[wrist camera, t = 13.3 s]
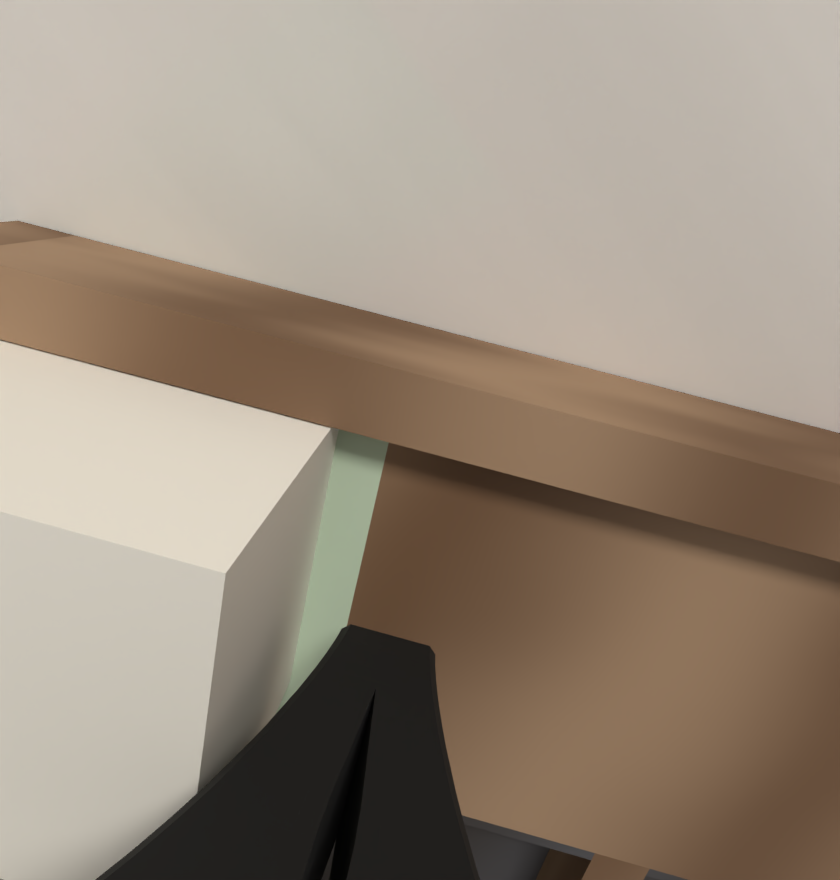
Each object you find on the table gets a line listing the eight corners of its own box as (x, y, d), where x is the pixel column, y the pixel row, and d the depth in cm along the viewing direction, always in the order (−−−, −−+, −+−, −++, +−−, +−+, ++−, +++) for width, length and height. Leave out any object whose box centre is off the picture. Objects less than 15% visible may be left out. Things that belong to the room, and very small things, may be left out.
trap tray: (1567, 621, 10) (1907, 763, 7) (979, 1125, 16) (1061, 1290, 14) (17, 220, 11) (-125, 232, 8) (29, 847, 17) (-49, 956, 15)
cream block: (341, 413, 9) (225, 574, 5) (290, 681, 11) (179, 931, 7) (5, 325, 9) (-330, 420, 6) (12, 603, 11) (-233, 810, 8)
